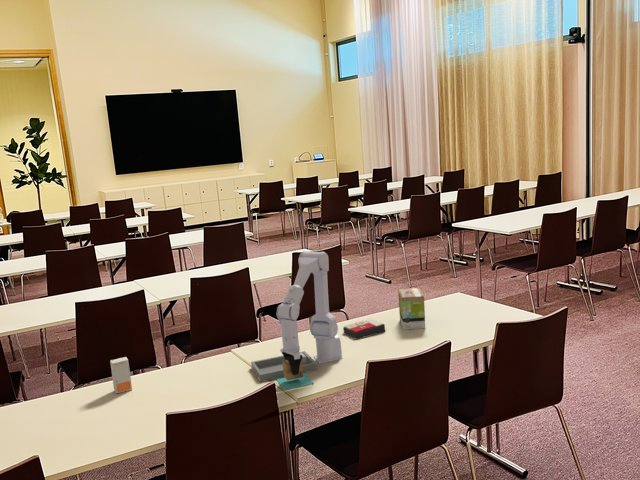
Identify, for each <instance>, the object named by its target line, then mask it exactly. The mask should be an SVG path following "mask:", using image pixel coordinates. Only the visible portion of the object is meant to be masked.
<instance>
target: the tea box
mask: <svg viewBox="0 0 640 480" xmlns="http://www.w3.org/2000/svg"><path fill="white" fill-rule="evenodd" d="M397 291H398V307H399V308H398V309H399V320H400V323H401V327H402V329H403V330H417V329H418V330H419V329H425V328H426V311H425V296H424V294H423V292H422V290H421V289H420V287H417V288H416V287H415V288H413V287H412V288H401V289H398V290H397Z"/></svg>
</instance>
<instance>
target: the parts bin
mask: <svg viewBox="0 0 640 480" xmlns="http://www.w3.org/2000/svg"><path fill="white" fill-rule="evenodd" d="M299 353H303V354H304V355H305V356H306V360H307V364H306V365H302V369H303V373H308V372H314V371H317V370H318V363H317V361H315V359H313V358H312V356H311V355H310V354H308V353H307V352H306V351H305V350H304V351H299ZM283 360H285V358H284V356H283V355H280V356H274V357H270V358H264V359H259V360H254V361H250V365H251V369H252V371H253V372H254V374H255V375H256V376H257V378H258V380H259V382H265V381H271V380H274V379H275V380H276V379H277V378H282V377H284V373H283V363H282V361H283Z"/></svg>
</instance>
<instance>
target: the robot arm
mask: <svg viewBox="0 0 640 480" xmlns="http://www.w3.org/2000/svg"><path fill="white" fill-rule="evenodd" d="M297 261H298V267H299V268H298V270H297V274H296V276H295V280H294V283H293V285H290V286H289V287H288V290H287V292H286V293H285V294H286V295H285V297H284V300H283V302H282V303H281V304H279V305H278V306H277V307H276V313H275V315H276V317H277V319H278V323H279V325H280V328H281V339H282V348H280V349H279V351H280V353H281V354H282V356H284V358H285V360H288V362H289V364H290V367H291V371H292V374H293V375H297V374H299V367H300V363H301V360H302V358H303V356H302V355H300V353H299V352H301V349H300V348H301V347H300V343H299V341H300V340H299V331H298V323H297V319H298V317H299V316H300V307H301V306H300V304H301V303H302V302H301V301H302V299H303V296H304V294H305V291H304V287H305V285H306V283H307V281H308V279H309V278H310V275H311V274H312V275H313V283H314V284H313V285H314V300H315V301H314V305H315V314H313V315H312V317H310V325H309V331H310V332H309V333H310V334H311V335H312V336H313V339H315V345H316V346H315V347H316V355H314V356H313V357H314V360H316V362H318V363H319V364H324V363H327V362H328V363H329V362H334V361H338V360H342V359H343V354H342V353H343V352H342V343H341V339H340V336H339V335H338V331H339V327H338V323H337V317H336V316H335V315H333V314H332V313H331V312H330V306H329V305H330V303H329V302H330V301H329V288H328V287H329V286H328V283H329V282H328V272H329V271H330V269H329V268H330V266H329V265H330V264H329V262H330V261H329V255H328V253H326V252H325V251H305V250H303V251H301V252H300V254H299V256H298V260H297Z"/></svg>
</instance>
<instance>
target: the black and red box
mask: <svg viewBox="0 0 640 480" xmlns="http://www.w3.org/2000/svg"><path fill="white" fill-rule="evenodd" d="M342 328H343V334H345V335H347V336H349V337H351V338H352V339H355V340H358V339H362V338H365V337H370V336H372V335H375V334H376V335H377V334H382V333H385V332H386V327H385V324H384V323H383V322H381V321H378V320H376V319H374V318H368V319H364V320H360V321H357V322H354V323H350V324H346V325H344V326H343V327H342Z"/></svg>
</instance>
